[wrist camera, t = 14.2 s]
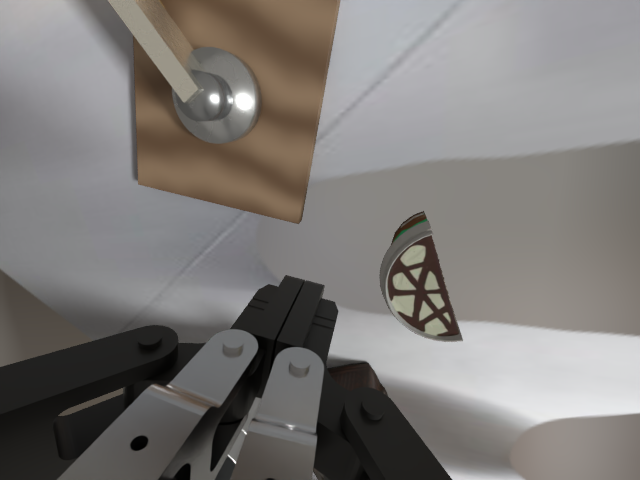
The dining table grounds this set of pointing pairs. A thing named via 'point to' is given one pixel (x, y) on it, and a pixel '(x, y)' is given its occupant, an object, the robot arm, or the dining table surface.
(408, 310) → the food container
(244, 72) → the beige bar and knob
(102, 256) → the dining table surface
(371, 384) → the dark brown wooden box
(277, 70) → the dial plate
